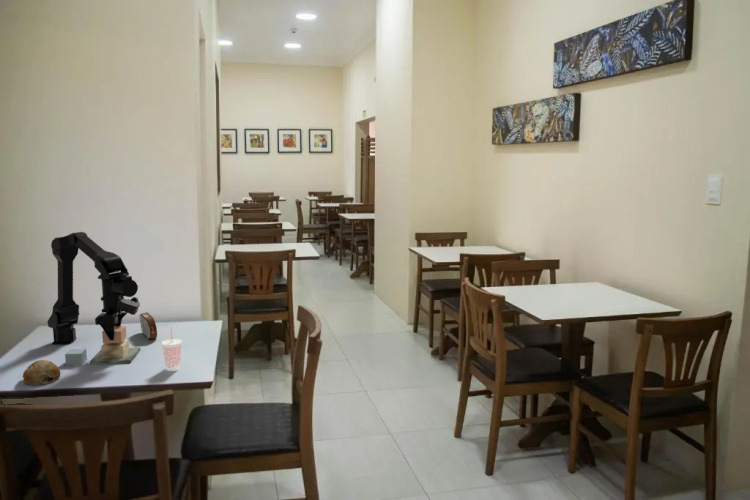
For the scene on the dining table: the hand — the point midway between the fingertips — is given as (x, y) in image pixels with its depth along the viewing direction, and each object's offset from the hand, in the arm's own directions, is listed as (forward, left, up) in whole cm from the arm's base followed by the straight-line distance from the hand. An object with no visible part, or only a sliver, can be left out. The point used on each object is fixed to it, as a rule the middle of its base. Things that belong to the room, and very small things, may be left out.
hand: (114, 337), depth 210 cm
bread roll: (-17, -19, -7) cm, 26 cm away
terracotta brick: (0, 0, -1) cm, 1 cm away
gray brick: (-11, -4, -7) cm, 14 cm away
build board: (0, 0, -7) cm, 7 cm away
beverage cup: (+22, -13, -7) cm, 26 cm away
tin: (+6, +23, -7) cm, 25 cm away
